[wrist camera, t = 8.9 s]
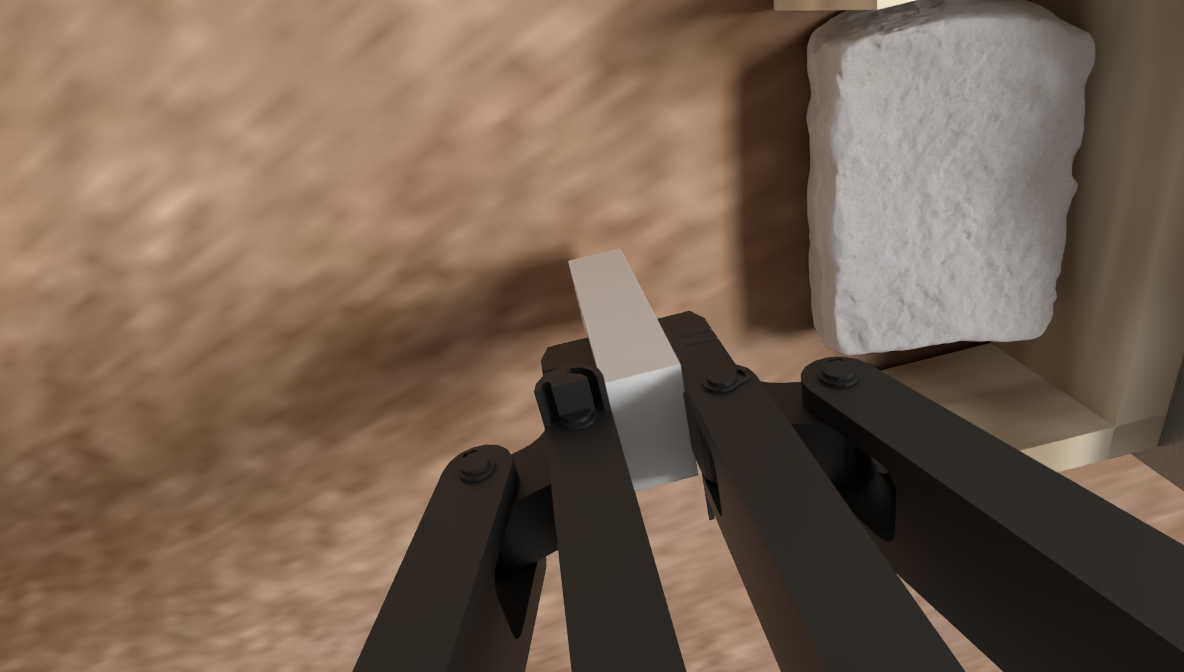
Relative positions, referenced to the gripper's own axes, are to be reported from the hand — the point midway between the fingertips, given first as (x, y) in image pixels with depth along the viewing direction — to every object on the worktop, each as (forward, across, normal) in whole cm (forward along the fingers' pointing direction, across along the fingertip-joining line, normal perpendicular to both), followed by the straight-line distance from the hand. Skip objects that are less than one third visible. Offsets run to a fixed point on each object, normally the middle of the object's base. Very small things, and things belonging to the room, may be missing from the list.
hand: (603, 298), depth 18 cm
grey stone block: (+2, -9, -1) cm, 10 cm away
